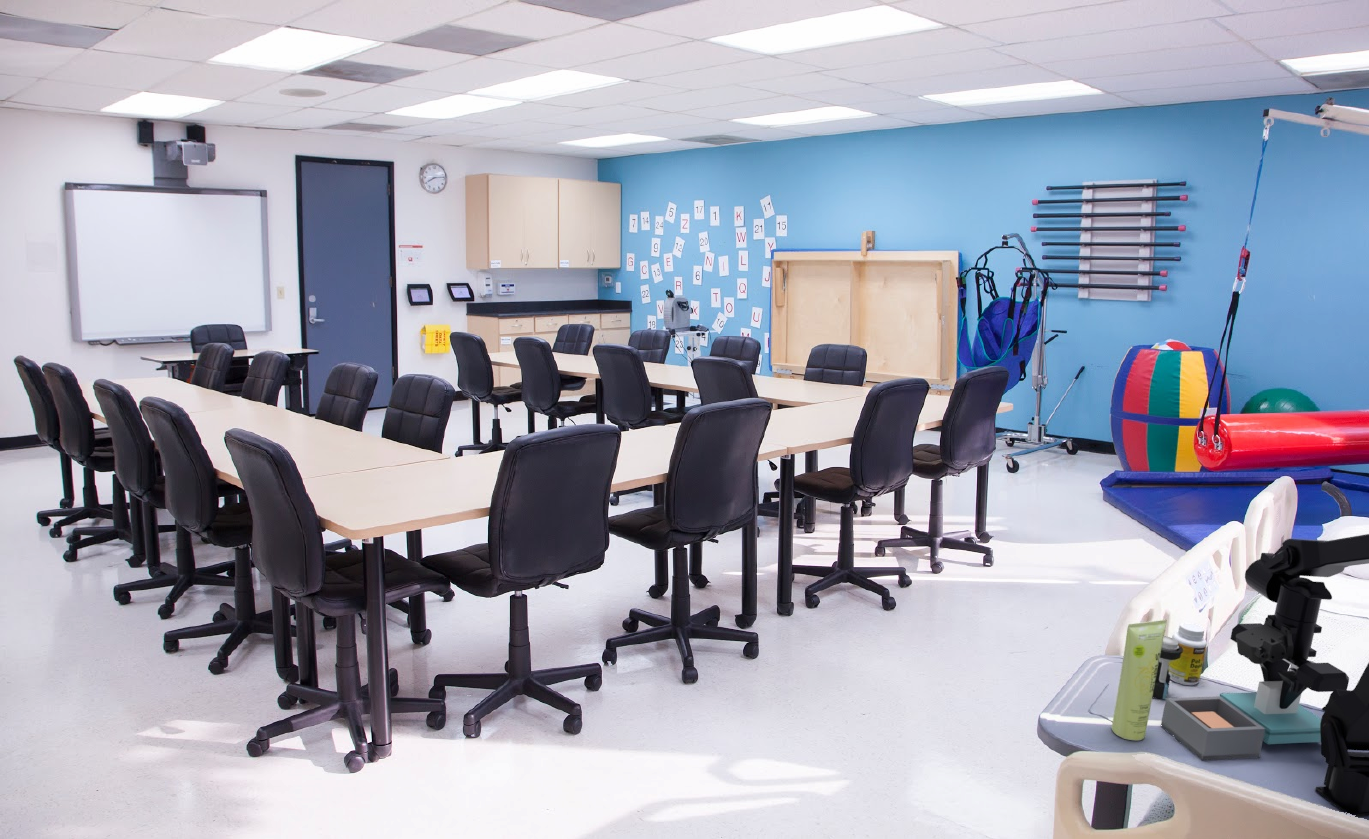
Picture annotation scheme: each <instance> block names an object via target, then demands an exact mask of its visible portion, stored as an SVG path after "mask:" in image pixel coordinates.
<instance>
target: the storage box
mask: <svg viewBox="0 0 1369 839" xmlns="http://www.w3.org/2000/svg"><path fill="white" fill-rule="evenodd" d="M1163 707H1164V708H1163V713H1162V717H1161V721H1160V726H1161V725H1162V727H1163V728H1162V727H1161V728H1162V729H1164V730H1165V729H1166V730H1167V731H1168V732H1169V733H1168V732H1167V731H1166V730H1165V731H1166V732H1167V733H1168V734H1170V735H1171V736H1172V735H1174V737H1175V738H1174V737H1173V738H1174V739H1175V740H1177V741H1178V742H1179V741H1180V742H1181V743H1180V742H1179V743H1180V744H1182V746H1183V747H1185V748H1186V749H1188V751H1190V752H1191V753H1192V754H1193V755H1195V756H1196V757H1197V758H1198V759H1200V760H1201V761H1205V762H1207V761H1221V760H1243V759H1245V760H1246V759H1260V756H1261V751H1262V747H1263V742H1264V741H1263V738H1264V733H1265V728H1264V727H1262V726H1261V725H1259V724H1258V723H1257V722H1255V721H1254V720H1252V719H1251V718H1250V717H1248V716H1247V715H1246V714H1244V713H1243V712H1241V711H1240V710H1239V709H1237V708H1236V707H1234V706H1233V705H1232V704H1230V703H1229V702H1228V701H1226V700H1225V699H1223V698H1222V697H1221V696H1220V695H1219V696H1217V695H1216V696H1193V697H1191V696H1189V697H1170V698H1169V697H1166V700H1165V702H1164V706H1163Z"/></svg>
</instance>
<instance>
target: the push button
mask: <svg viewBox="0 0 1369 839" xmlns="http://www.w3.org/2000/svg"><path fill="white" fill-rule="evenodd" d="M1182 652H1183V648H1182V647H1181V646H1180V645H1178V641H1176V640H1175V639H1173V638H1172V637H1170V636H1165V635H1164V638H1163V643H1162V648H1161V653H1160V659H1159V664H1158V669H1157V675H1156V680H1155V685H1154V690H1153V696H1152V699H1153V698H1154V699H1158V700H1165V701H1166V698H1167V696H1168V692H1169V686H1170V681H1171V679H1170V675H1169V670H1168V667H1169V662H1170V661H1173V660H1176V659H1179V658H1180V656H1181V653H1182Z"/></svg>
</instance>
